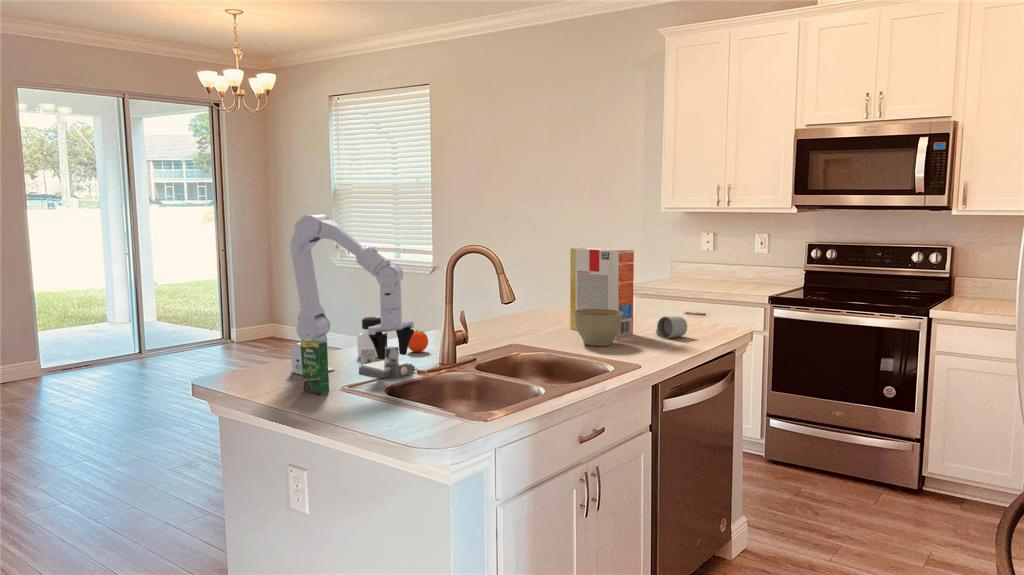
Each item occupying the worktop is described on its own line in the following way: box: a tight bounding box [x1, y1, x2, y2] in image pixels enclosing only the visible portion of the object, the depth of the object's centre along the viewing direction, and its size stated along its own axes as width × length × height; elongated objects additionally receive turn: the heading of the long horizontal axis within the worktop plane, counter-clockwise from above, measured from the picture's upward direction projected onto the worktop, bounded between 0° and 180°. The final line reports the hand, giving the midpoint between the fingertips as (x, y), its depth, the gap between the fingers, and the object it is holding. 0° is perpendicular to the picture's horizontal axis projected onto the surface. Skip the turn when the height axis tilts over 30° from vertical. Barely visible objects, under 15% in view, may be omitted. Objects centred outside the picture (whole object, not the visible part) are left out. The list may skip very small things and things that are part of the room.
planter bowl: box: [574, 309, 623, 347], centre depth 247 cm, size 16×16×11 cm
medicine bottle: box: [356, 316, 388, 359], centre depth 231 cm, size 7×7×12 cm
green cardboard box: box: [299, 339, 330, 396], centre depth 187 cm, size 8×3×13 cm, turn 49°
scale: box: [358, 359, 416, 379], centre depth 208 cm, size 11×13×3 cm
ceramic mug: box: [655, 315, 688, 340], centre depth 259 cm, size 11×8×8 cm
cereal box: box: [569, 247, 635, 338], centre depth 269 cm, size 23×8×30 cm, turn 42°
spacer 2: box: [383, 346, 400, 367], centre depth 207 cm, size 4×4×5 cm
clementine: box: [407, 329, 429, 353], centre depth 236 cm, size 8×7×7 cm
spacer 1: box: [360, 348, 376, 366], centre depth 217 cm, size 4×4×5 cm
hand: (392, 356), depth 207 cm, fingers open, 7 cm apart
